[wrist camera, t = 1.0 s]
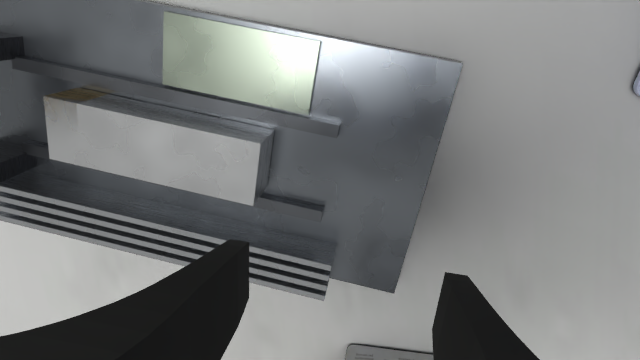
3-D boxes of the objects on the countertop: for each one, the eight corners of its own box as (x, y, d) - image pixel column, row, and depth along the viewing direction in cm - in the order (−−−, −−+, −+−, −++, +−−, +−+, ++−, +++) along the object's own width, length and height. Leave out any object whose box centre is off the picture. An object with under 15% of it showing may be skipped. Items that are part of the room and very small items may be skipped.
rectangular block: (274, 130, 20) (260, 143, 18) (266, 187, 21) (253, 206, 19) (77, 87, 20) (43, 96, 18) (81, 144, 22) (49, 158, 20)
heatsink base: (459, 61, 18) (479, 76, 14) (393, 282, 23) (393, 343, 19) (-56, -39, 20) (-173, -51, 16) (-17, 182, 25) (-100, 218, 21)
